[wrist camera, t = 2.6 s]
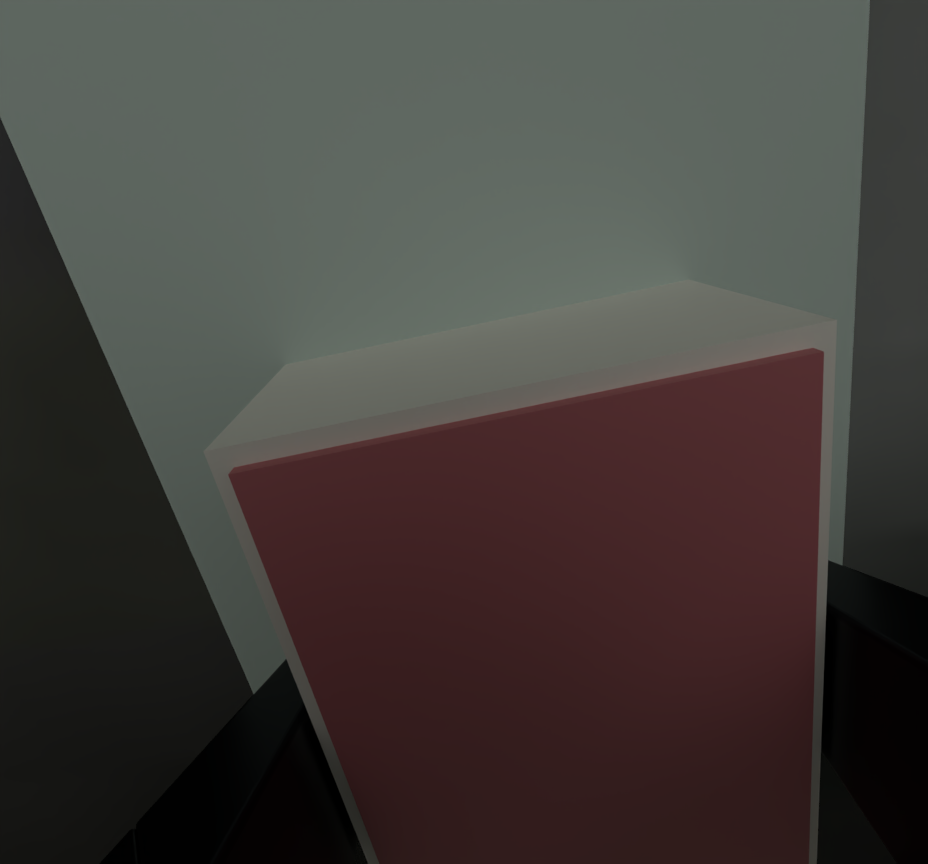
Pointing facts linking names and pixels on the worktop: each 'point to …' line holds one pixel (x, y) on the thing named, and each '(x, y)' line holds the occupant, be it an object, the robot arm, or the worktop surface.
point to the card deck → (557, 577)
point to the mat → (418, 188)
